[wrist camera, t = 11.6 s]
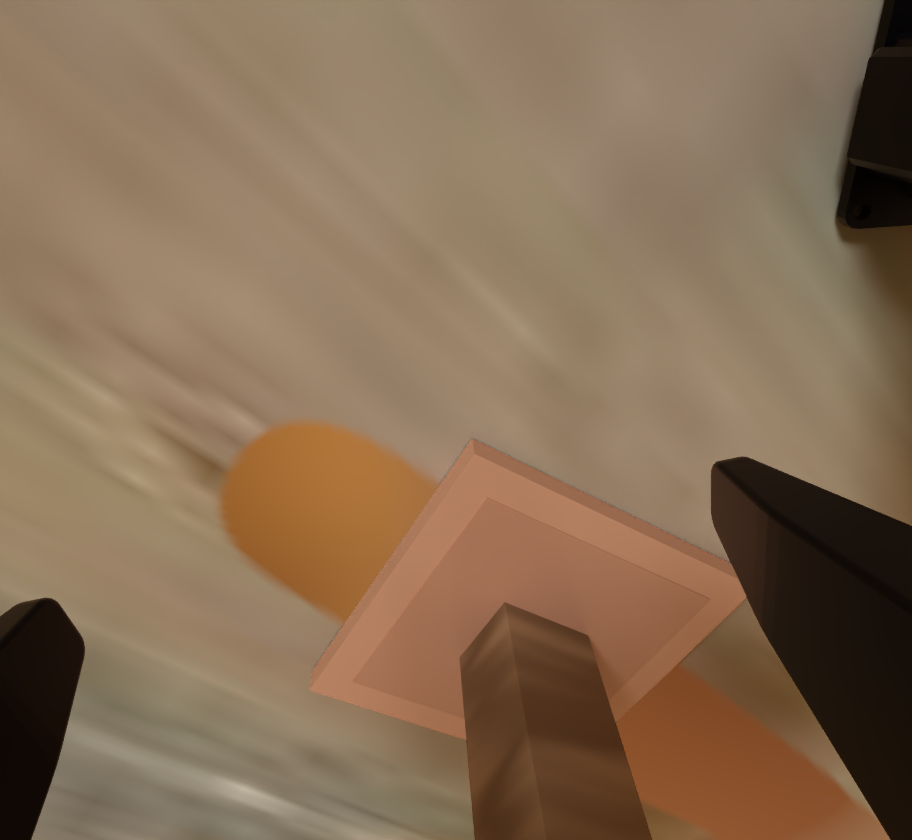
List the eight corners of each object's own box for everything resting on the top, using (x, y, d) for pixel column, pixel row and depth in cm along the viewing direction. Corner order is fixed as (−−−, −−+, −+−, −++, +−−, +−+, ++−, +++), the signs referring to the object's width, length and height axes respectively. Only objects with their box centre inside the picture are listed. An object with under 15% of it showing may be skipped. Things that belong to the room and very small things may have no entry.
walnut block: (504, 601, 25) (565, 947, 15) (588, 635, 26) (695, 975, 16) (458, 657, 26) (488, 1007, 16) (540, 687, 27) (613, 1029, 18)
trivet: (471, 438, 22) (474, 455, 21) (744, 570, 26) (757, 589, 25) (312, 670, 27) (309, 691, 26) (560, 751, 31) (565, 773, 30)
